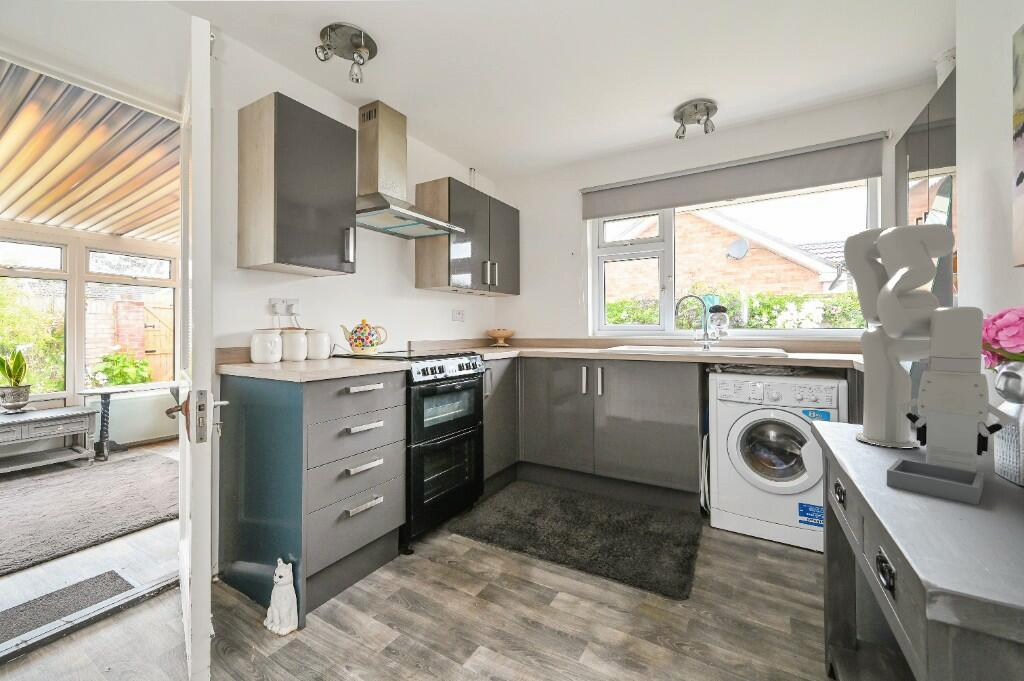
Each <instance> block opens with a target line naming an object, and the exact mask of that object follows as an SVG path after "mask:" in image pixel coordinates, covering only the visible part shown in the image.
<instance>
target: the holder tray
mask: <svg viewBox="0 0 1024 681" xmlns="http://www.w3.org/2000/svg"><path fill="white" fill-rule="evenodd" d="M886 486H888V487H892V488H893V487H894V488H898V489H902V490H906V491H911V492H912V491H913V492H916V493H920V494H925V495H930V496H935V497H938V498H939V497H940V498H944V499H948V500H952V501H957V502H962V503H966V504H969V505H970V504H971V505H977V506H979V504H980V500H981V497H982V494H983V491H984V490H983V489H984V472H978V471H976V472H974V471H968V470H963V469H957V468H951V467H946V466H940V465H934V464H929V463H926V462H923V461H917V460H911V459H905V458H901V457H900V458H899V457H898V459H897V460H895V461H894V463H893V464H892V465H890V466H889V467H888V469H886Z"/></svg>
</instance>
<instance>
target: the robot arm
mask: <svg viewBox="0 0 1024 681" xmlns="http://www.w3.org/2000/svg"><path fill="white" fill-rule="evenodd" d="M955 242H956V237H955V233H954V231H953V230H952V229H951V228H950V227H949V226H947V225H945V224H942V223H930V224H929V223H927V224H926V223H925V224H913V225H912V224H911V225H899V226H890V227H889V226H888V227H887V226H886V227H873V228H866V229H860V230H858V231H855V232H853V233H851V234H849V236H847V238H846V240H845V242H844V246H843V254H844V255H843V256H844V262H845V265H846V267H847V269H848V271H849V273H850V275H851V276H852V278H853V280H854V282H855V286H856V292H857V296H858V303H859V307H860V310H861V315H862V317H863V319H864V320H865V321H866V322H867V323H868V324H872V325H873V324H874V325H877V326H872V327H869V328H867V329H865V330H864V331H863V332H862V334H861V336H860V341H859V342H860V349H861V354H862V359H863V361H862V362H863V378H864V379H863V410H862V411H863V413H862V414H863V418H862V419H863V420H862V422H863V423H862V432H858V433H856V434H855V439H856V438H858V439H860V440H862V441H866V442H870V443H875V444H879V445H885V446H891V447H917V446H918V447H919V446H921V447H926V437H927V411H939V412H948V413H957V414H966V415H975V416H978V436H977V456H979V457H980V456H982V455H983V452H988V448H989V437H990V436H992V435H993V434H995V433H997V432H999V431H1002V429H1004V428H1005V427H1006V426H1008V425H1009V424H1011V423H1012V422H1013V420H1014V418H1013V416H1010V415H1009V414H1008V413H1006V412H1005V411H1002V410H1001V409H999V408H997V407H996V406H994V405H993V404H990V396H989V395H990V394H989V392H990V391H989V383H988V379H987V375H986V374H984V373H981V371H982V357H983V356H982V355H983V354H982V352H983V351H982V350H983V335H984V334H983V333H984V332H983V331H984V330H983V329H984V312H983V310H982V309H981V308H980V307H976V306H942V305H941V303H940V301H939V298H938V297H937V296H936V295H935V293H933V292H931V291H930V290H926V289H919V288H921V287H924V286H925V285H927V284H928V283H930V282H931V281H932V280H933V279H935V277H936V276H937V272H938V269H937V266H936V265H935V263H934V260H933V259H937V258H938V259H939V258H944V257H946V256H947V255H949V254H950V253H951V252H952V251H953V249H954V246H955V244H956V243H955ZM877 259H881V261H882V263H881V261H878V260H877ZM900 362H902V363H903V362H904V363H905V362H909V363H910V362H916V363H918V362H919V366H925V367H927V369H928V370H923V372H922V375H921V378H920V381H919V382H920V383H919V388H918V397H916V398H913V399H912V378H911V374H909V372H908V371H907V370H906V368H904V366H903V365H902V364H901V363H900ZM916 406H917V414H918V415H919V416H920V417H919V416H917V415H916V414H915V413H914V412H913V411H912V410H911V408H913V407H916ZM989 414H992V415H993V416H995V417H997V418H998V420H997V421H996V422H995V423H992V424H990V425H989V426H988V425H987V424H986V422H987V421H988V419H989ZM911 423H913V424H914V426H915V427H916V438H915V440H914V439H911ZM918 447H917V448H918Z"/></svg>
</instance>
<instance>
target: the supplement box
mask: <svg viewBox="0 0 1024 681" xmlns="http://www.w3.org/2000/svg"><path fill="white" fill-rule="evenodd" d="M926 427H927V437H926V445H925V463H929V464H934V465H940V466H946V467H951V468H957V469H963V470H968V471H974V472H977V459H978V458H977V457H978V454H977V436H978V434H979V431H978V416H975V415H966V414H957V413H948V412H939V411H927V422H926Z"/></svg>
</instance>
